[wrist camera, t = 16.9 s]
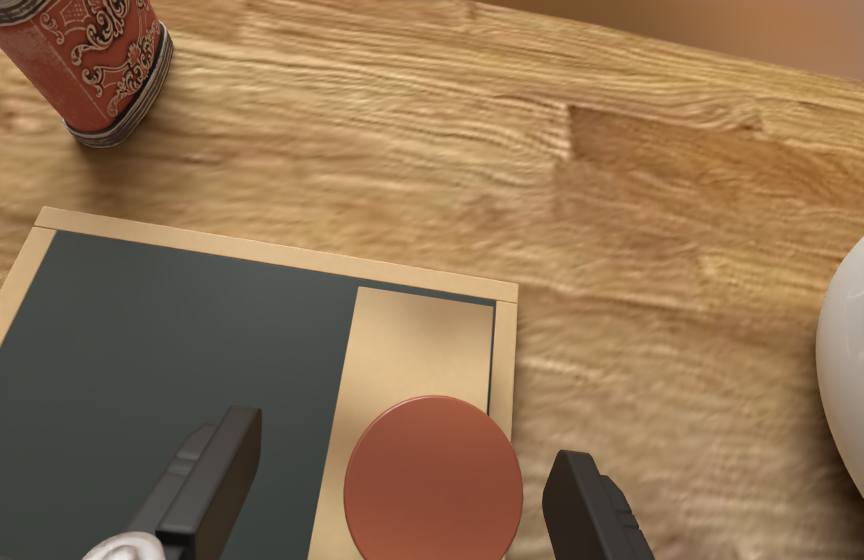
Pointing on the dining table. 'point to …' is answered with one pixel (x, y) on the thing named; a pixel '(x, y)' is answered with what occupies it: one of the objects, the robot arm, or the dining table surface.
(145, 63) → the lighter
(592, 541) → the robot arm
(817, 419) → the dining table surface
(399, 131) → the dining table surface
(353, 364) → the eraser
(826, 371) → the serving bowl
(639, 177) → the dining table surface
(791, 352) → the dining table surface
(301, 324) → the board
